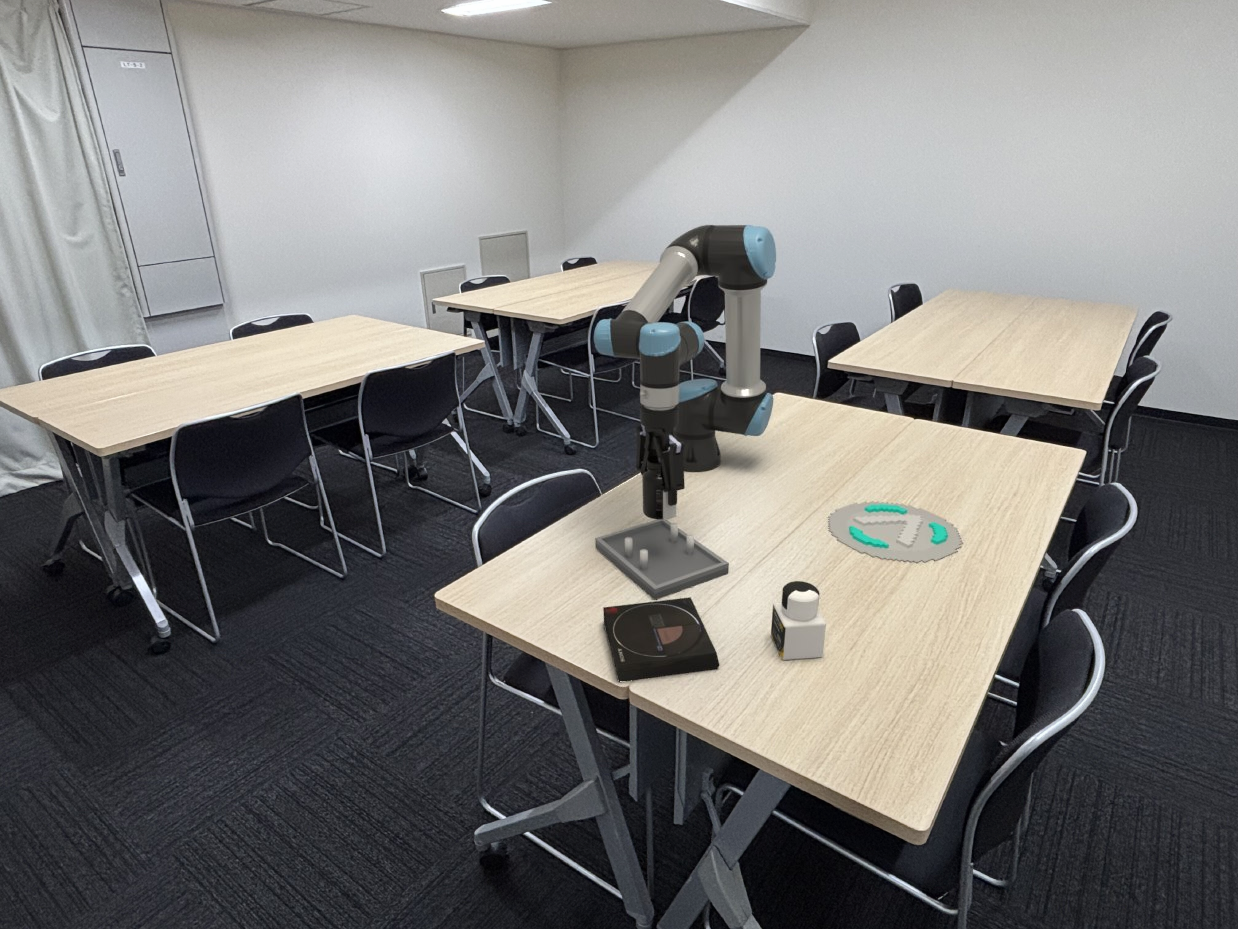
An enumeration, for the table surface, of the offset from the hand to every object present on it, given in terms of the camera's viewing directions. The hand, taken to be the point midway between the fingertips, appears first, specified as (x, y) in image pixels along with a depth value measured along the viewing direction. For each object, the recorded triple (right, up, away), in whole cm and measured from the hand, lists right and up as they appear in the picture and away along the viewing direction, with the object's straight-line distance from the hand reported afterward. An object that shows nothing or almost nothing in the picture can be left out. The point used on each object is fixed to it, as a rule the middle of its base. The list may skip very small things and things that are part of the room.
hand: (659, 510), depth 146 cm
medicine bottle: (+22, -22, -23) cm, 39 cm away
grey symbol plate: (+54, -6, +15) cm, 56 cm away
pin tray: (0, -11, +5) cm, 12 cm away
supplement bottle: (0, -1, 0) cm, 1 cm away
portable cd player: (-1, -23, -21) cm, 31 cm away
